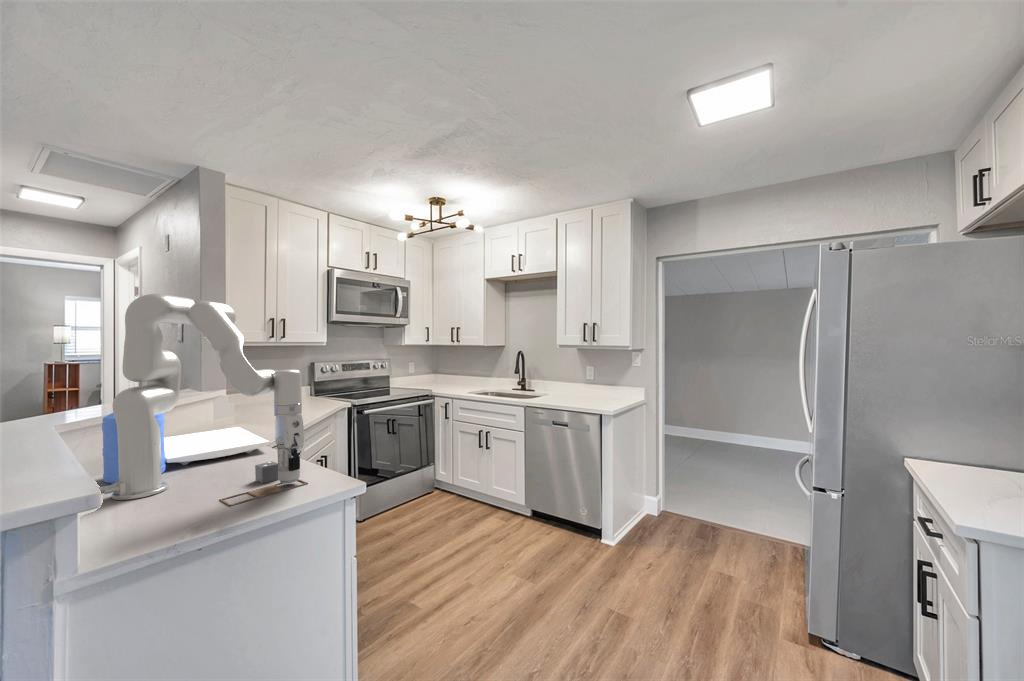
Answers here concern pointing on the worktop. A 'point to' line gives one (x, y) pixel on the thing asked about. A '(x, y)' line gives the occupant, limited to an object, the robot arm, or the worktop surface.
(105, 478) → the water jug
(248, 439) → the board
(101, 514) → the worktop surface
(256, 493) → the board
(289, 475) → the energy drink can
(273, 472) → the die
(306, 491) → the worktop surface
